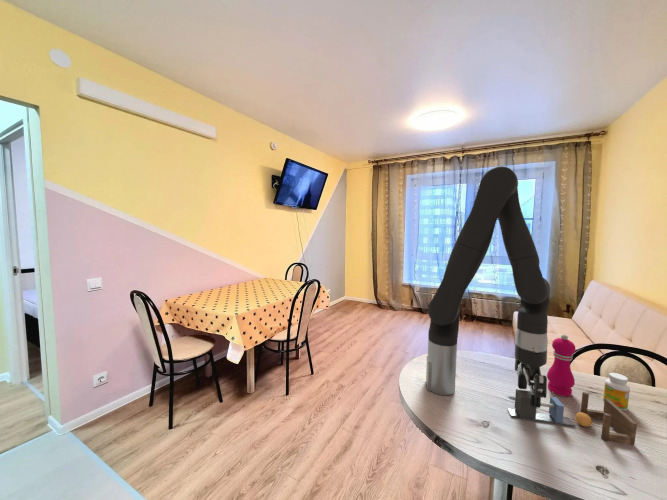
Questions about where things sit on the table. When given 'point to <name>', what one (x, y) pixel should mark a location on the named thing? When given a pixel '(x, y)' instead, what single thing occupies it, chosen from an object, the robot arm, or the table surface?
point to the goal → (612, 421)
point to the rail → (543, 418)
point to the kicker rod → (530, 412)
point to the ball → (583, 419)
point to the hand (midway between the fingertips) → (528, 397)
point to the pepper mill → (561, 367)
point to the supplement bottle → (617, 390)
